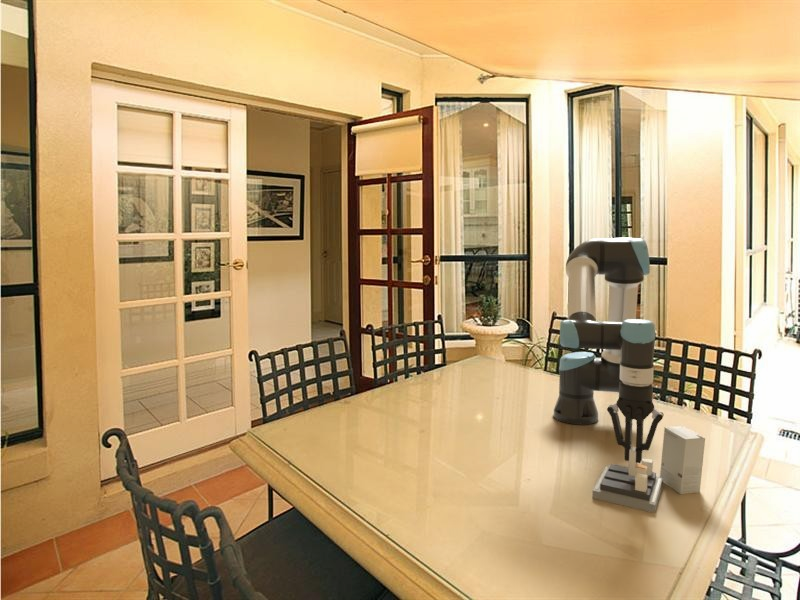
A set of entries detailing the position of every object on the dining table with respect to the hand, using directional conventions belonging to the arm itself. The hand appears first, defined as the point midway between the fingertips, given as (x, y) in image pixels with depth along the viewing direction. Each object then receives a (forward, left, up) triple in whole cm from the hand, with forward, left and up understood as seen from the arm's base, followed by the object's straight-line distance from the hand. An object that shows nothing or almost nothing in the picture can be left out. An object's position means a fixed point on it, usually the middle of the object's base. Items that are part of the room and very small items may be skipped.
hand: (632, 473), depth 131 cm
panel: (-1, 0, -5) cm, 5 cm away
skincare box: (+10, +10, -5) cm, 15 cm away
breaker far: (+3, +5, -1) cm, 6 cm away
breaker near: (+3, -5, -1) cm, 6 cm away
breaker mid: (+2, 0, -1) cm, 2 cm away
